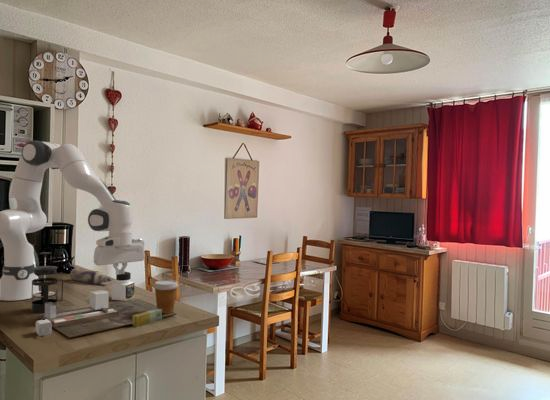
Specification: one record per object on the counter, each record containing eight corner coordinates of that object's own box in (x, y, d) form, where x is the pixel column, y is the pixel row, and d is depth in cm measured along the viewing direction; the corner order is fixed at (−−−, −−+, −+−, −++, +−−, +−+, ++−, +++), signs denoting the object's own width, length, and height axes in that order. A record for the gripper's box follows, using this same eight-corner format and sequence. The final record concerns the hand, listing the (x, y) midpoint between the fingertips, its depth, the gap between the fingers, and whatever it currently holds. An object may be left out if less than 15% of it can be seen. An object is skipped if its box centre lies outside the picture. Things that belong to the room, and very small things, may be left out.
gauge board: (42, 319, 153) (43, 314, 153) (104, 308, 169) (104, 303, 169) (54, 327, 144) (54, 322, 144) (118, 315, 160) (118, 310, 160)
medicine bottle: (125, 301, 181) (126, 273, 181) (111, 299, 183) (111, 272, 183) (134, 297, 188) (135, 271, 188) (120, 296, 190) (120, 270, 190)
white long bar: (44, 316, 152) (44, 302, 152) (102, 306, 166) (102, 294, 166) (49, 320, 147) (50, 306, 147) (108, 309, 162) (108, 297, 162)
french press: (29, 314, 158) (30, 254, 158) (27, 308, 166) (29, 251, 165) (63, 310, 164) (64, 253, 164) (60, 305, 172) (61, 250, 172)
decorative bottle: (68, 281, 217) (68, 268, 217) (80, 279, 224) (80, 266, 224) (105, 287, 207) (105, 273, 206) (116, 284, 213) (116, 271, 213)
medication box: (158, 318, 159) (158, 307, 159) (163, 319, 158) (163, 308, 157) (131, 325, 149) (131, 314, 149) (136, 327, 148) (136, 316, 148)
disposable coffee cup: (164, 316, 161) (165, 285, 160) (148, 312, 166) (148, 282, 165) (182, 311, 169) (183, 281, 168) (165, 307, 174) (166, 278, 174)
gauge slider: (89, 306, 163) (89, 291, 163) (102, 304, 166) (102, 289, 166) (100, 312, 156) (100, 296, 155) (113, 310, 159) (113, 294, 159)
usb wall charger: (48, 330, 141) (48, 318, 141) (53, 336, 136) (53, 324, 136) (35, 332, 139) (35, 320, 139) (39, 338, 133) (40, 326, 133)
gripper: (140, 238, 177) (140, 270, 178) (92, 241, 163) (91, 276, 163) (147, 239, 173) (147, 272, 173) (98, 242, 159) (98, 278, 159)
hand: (120, 274), depth 168 cm, fingers closed
